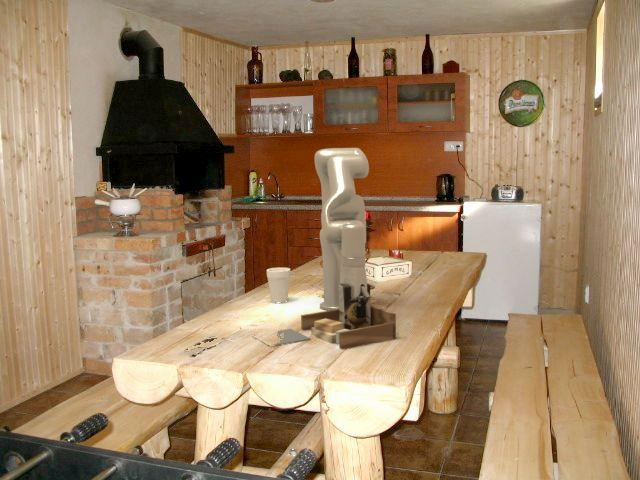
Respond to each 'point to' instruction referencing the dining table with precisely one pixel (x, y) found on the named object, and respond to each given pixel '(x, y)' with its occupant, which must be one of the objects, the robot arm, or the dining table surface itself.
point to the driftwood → (204, 342)
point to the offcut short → (328, 325)
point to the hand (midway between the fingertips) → (354, 315)
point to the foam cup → (278, 283)
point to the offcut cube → (338, 335)
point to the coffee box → (352, 309)
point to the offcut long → (324, 335)
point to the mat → (291, 336)
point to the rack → (378, 331)
